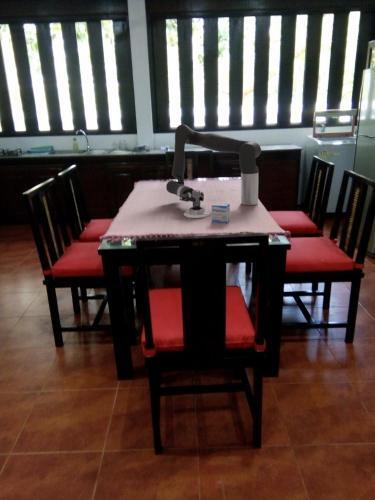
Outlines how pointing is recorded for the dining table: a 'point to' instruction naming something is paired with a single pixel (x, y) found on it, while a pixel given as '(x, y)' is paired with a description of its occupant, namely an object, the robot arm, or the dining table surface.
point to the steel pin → (196, 199)
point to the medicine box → (220, 213)
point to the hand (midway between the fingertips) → (198, 199)
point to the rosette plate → (197, 213)
